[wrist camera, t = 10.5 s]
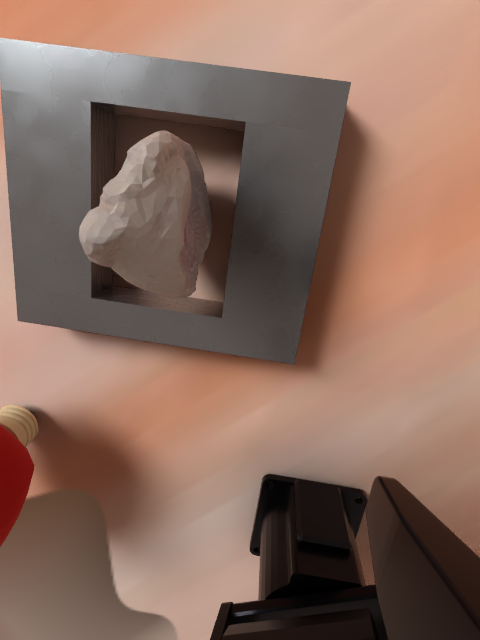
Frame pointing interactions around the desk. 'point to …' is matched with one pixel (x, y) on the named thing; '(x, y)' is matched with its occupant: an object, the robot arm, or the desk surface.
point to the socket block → (98, 169)
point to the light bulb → (14, 463)
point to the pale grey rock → (153, 218)
